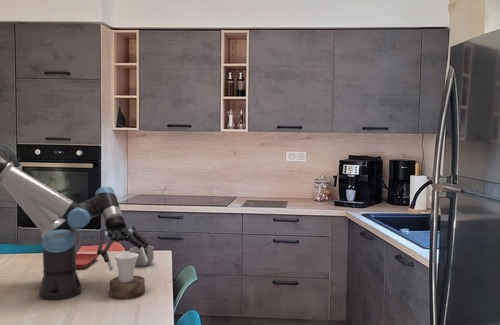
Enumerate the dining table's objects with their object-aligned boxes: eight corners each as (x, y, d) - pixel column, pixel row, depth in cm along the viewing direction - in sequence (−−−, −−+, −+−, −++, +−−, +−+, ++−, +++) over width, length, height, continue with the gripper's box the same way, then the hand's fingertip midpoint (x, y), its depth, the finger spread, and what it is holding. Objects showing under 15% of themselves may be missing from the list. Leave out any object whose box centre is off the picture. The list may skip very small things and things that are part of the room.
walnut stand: (121, 301, 182) (121, 288, 182) (103, 293, 191) (103, 280, 191) (151, 293, 191) (151, 280, 191) (132, 285, 200) (132, 273, 200)
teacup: (150, 268, 226) (150, 250, 225) (126, 268, 226) (126, 250, 226) (157, 260, 240) (156, 243, 239) (134, 260, 240) (134, 243, 240)
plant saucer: (86, 271, 222) (86, 263, 222) (46, 270, 223) (46, 263, 223) (99, 260, 240) (99, 253, 240) (62, 260, 241) (62, 253, 241)
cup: (115, 285, 185) (114, 258, 185) (114, 277, 194) (114, 252, 194) (139, 283, 188) (139, 256, 187) (138, 276, 197) (137, 250, 196)
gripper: (140, 222, 209) (156, 265, 198) (80, 229, 195) (94, 276, 184) (145, 211, 205) (162, 255, 194) (84, 218, 190) (98, 265, 179)
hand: (129, 265), depth 189 cm, fingers open, 13 cm apart
